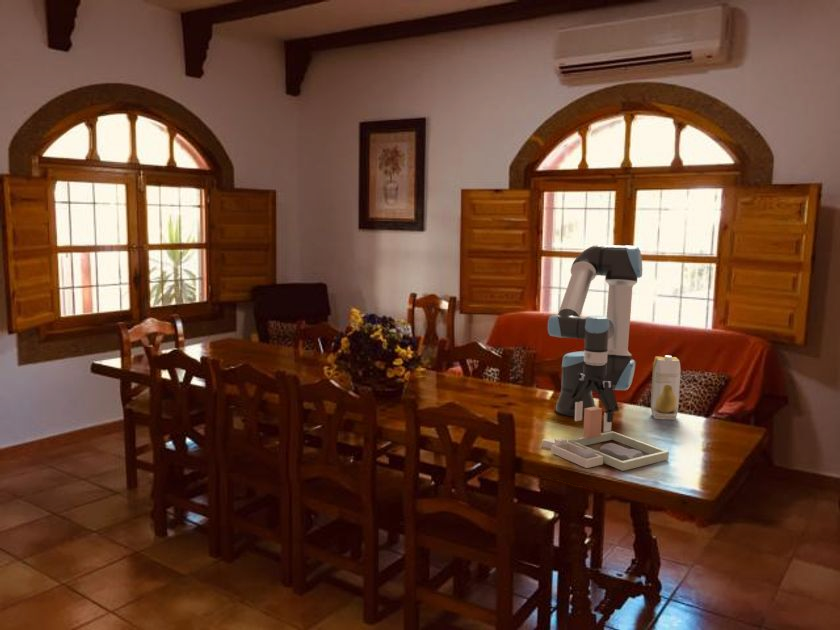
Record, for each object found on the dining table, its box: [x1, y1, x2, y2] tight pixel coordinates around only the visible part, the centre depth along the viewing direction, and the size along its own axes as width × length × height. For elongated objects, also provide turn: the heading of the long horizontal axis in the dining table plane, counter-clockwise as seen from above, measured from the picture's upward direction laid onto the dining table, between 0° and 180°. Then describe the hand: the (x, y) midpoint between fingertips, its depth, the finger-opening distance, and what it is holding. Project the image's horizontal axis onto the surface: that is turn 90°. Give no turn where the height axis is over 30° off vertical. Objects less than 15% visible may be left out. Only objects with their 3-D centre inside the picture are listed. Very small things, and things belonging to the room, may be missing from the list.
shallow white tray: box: [567, 405, 670, 472], centre depth 231 cm, size 25×20×12 cm
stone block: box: [598, 442, 643, 461], centre depth 228 cm, size 12×5×10 cm
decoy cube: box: [576, 448, 595, 459], centre depth 223 cm, size 4×4×4 cm
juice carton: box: [650, 354, 682, 421], centre depth 271 cm, size 9×8×24 cm
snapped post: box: [541, 438, 555, 449], centre depth 238 cm, size 5×2×2 cm, turn 48°
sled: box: [551, 437, 604, 469], centre depth 227 cm, size 17×7×4 cm, turn 31°
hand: (592, 425), depth 240 cm, fingers open, 13 cm apart
